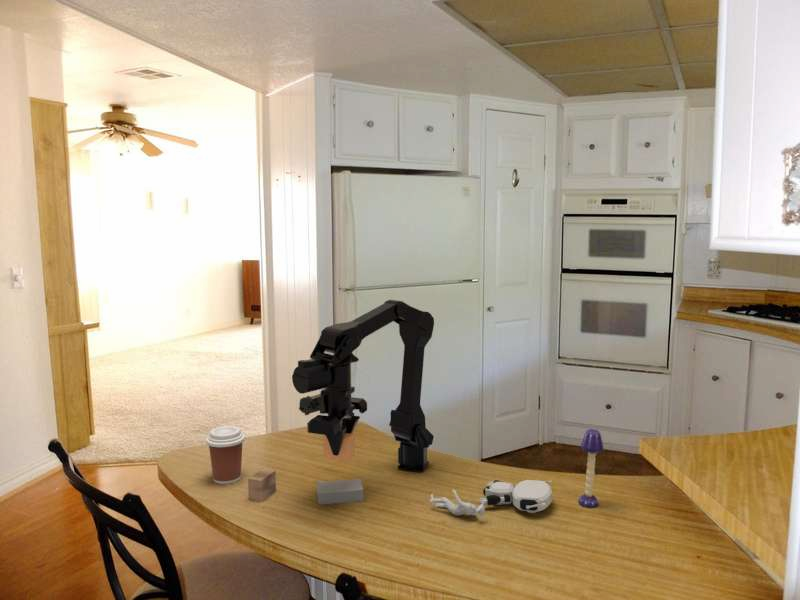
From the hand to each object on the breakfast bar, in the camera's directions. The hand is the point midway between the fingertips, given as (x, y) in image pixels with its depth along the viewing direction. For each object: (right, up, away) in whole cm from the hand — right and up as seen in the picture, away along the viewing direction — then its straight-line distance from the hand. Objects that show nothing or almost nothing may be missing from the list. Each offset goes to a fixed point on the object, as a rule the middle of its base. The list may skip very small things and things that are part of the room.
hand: (339, 452), depth 141 cm
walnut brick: (-18, -10, +3) cm, 21 cm away
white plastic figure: (+26, -12, -7) cm, 29 cm away
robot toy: (+39, -11, -2) cm, 41 cm away
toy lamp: (+55, -11, -3) cm, 56 cm away
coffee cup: (-28, -9, +12) cm, 32 cm away
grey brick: (0, -11, +1) cm, 11 cm away
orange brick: (0, -1, 0) cm, 1 cm away
